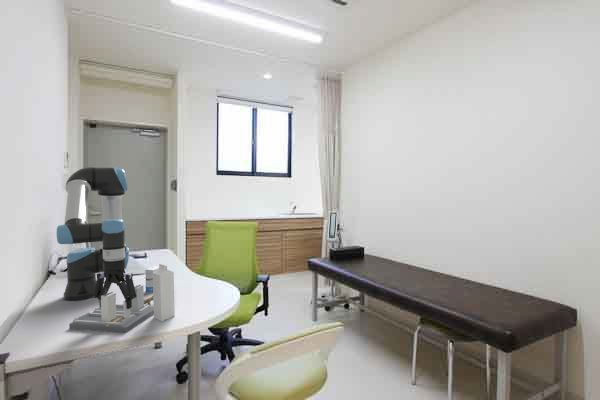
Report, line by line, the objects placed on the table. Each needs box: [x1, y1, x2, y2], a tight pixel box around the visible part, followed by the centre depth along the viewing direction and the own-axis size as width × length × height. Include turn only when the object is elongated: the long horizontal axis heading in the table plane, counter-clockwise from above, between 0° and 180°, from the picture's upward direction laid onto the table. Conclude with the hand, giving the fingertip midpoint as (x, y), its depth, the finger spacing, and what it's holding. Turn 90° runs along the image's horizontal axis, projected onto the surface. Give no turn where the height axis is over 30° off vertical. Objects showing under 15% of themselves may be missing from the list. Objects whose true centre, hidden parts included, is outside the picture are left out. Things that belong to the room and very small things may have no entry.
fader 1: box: [101, 291, 117, 322], centre depth 122 cm, size 3×4×10 cm
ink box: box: [144, 265, 159, 293], centre depth 165 cm, size 8×5×12 cm, turn 168°
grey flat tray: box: [68, 303, 154, 333], centre depth 127 cm, size 24×20×3 cm
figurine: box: [144, 295, 153, 307], centre depth 143 cm, size 4×4×15 cm
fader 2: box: [131, 284, 145, 312], centre depth 131 cm, size 3×4×10 cm
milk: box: [152, 263, 176, 322], centre depth 130 cm, size 6×6×22 cm
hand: (115, 315), depth 122 cm, fingers open, 9 cm apart
